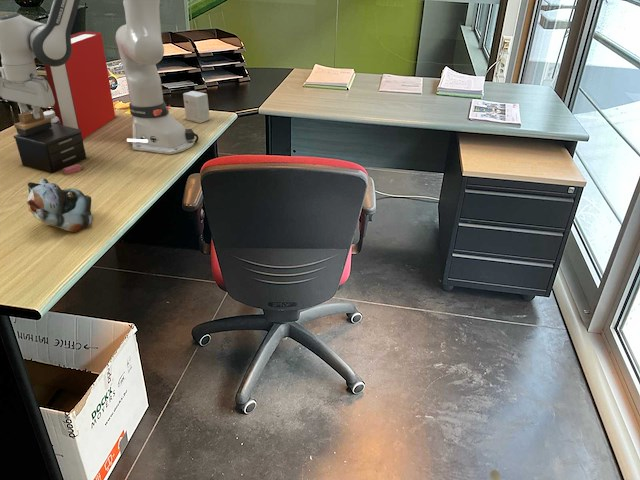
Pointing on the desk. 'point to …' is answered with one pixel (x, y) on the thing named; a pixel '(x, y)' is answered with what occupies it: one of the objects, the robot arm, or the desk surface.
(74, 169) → the eraser
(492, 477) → the egg
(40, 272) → the desk surface
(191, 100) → the small box
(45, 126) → the brush
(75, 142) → the cabinet
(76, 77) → the book
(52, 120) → the pill bottle
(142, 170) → the desk surface
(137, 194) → the desk surface
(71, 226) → the lucky cat figurine
